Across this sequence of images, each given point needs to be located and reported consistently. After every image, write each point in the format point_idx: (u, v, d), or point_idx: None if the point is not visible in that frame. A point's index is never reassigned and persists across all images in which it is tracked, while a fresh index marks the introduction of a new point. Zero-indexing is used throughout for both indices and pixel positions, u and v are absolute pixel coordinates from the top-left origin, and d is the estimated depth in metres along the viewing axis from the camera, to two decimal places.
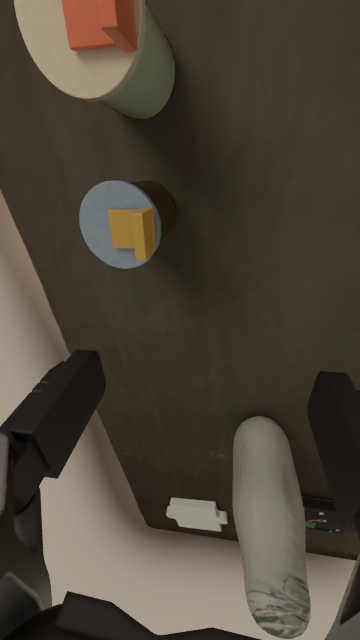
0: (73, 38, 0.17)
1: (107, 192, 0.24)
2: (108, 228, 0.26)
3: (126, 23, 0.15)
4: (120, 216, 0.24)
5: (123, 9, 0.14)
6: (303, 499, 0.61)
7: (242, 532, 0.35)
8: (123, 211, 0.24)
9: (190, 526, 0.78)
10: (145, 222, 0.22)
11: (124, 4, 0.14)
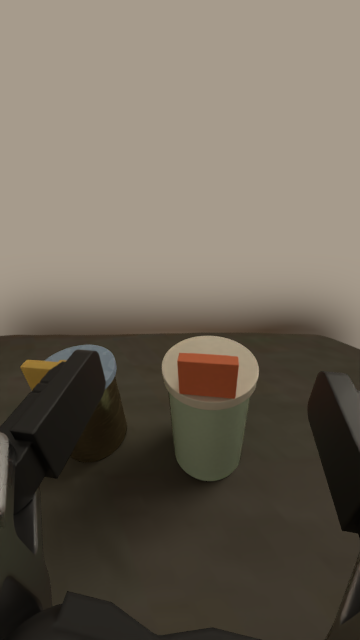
0: None
1: (105, 367, 0.27)
2: None
3: (186, 377, 0.19)
4: None
5: (192, 374, 0.19)
6: None
7: None
8: None
9: None
10: None
11: (195, 377, 0.19)
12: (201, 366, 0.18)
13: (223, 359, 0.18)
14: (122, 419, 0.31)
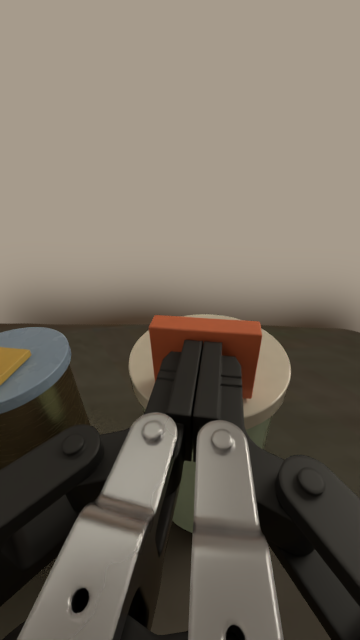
0: None
1: (51, 358, 0.18)
2: None
3: None
4: (9, 360, 0.17)
5: None
6: None
7: None
8: (11, 364, 0.16)
9: None
10: None
11: None
12: (192, 337, 0.10)
13: (232, 326, 0.10)
14: None
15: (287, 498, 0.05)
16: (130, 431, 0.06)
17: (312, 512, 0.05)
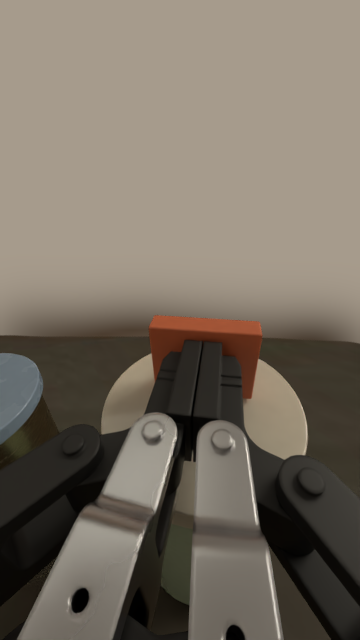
0: None
1: (16, 396, 0.15)
2: None
3: None
4: None
5: None
6: None
7: None
8: None
9: None
10: None
11: None
12: (192, 337, 0.10)
13: (232, 326, 0.10)
14: None
15: (287, 498, 0.05)
16: (130, 431, 0.06)
17: (312, 512, 0.05)
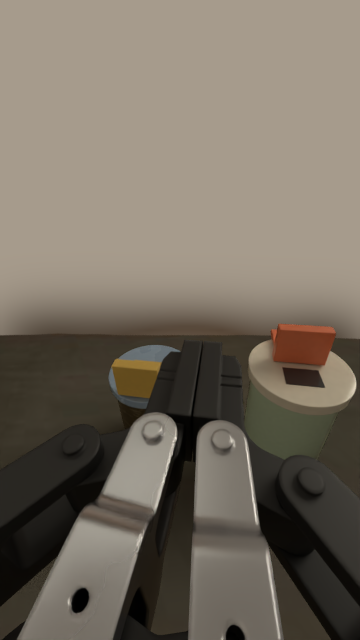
0: (276, 331, 0.26)
1: None
2: None
3: (284, 345, 0.22)
4: None
5: (290, 342, 0.22)
6: None
7: None
8: None
9: None
10: (148, 376, 0.21)
11: (293, 345, 0.22)
12: (301, 334, 0.21)
13: (320, 329, 0.21)
14: None
15: (287, 498, 0.05)
16: (130, 431, 0.06)
17: (312, 512, 0.05)
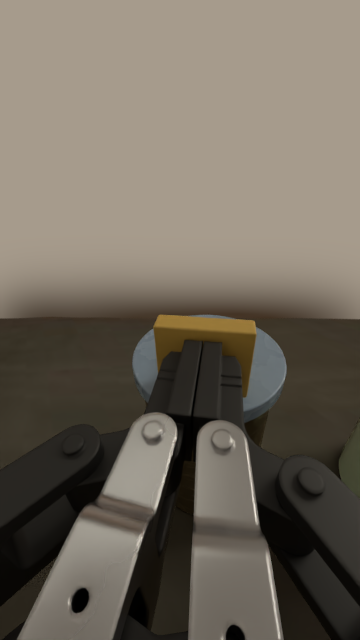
0: None
1: (265, 350, 0.14)
2: None
3: None
4: None
5: None
6: None
7: None
8: None
9: None
10: (232, 346, 0.10)
11: None
12: None
13: None
14: None
15: (287, 498, 0.05)
16: (130, 431, 0.06)
17: (312, 512, 0.05)
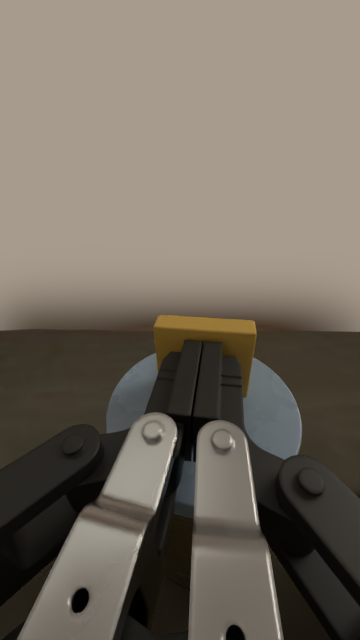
0: None
1: (274, 397, 0.11)
2: None
3: None
4: None
5: None
6: None
7: None
8: None
9: None
10: (232, 346, 0.10)
11: None
12: None
13: None
14: None
15: (287, 498, 0.05)
16: (130, 431, 0.06)
17: (312, 512, 0.05)
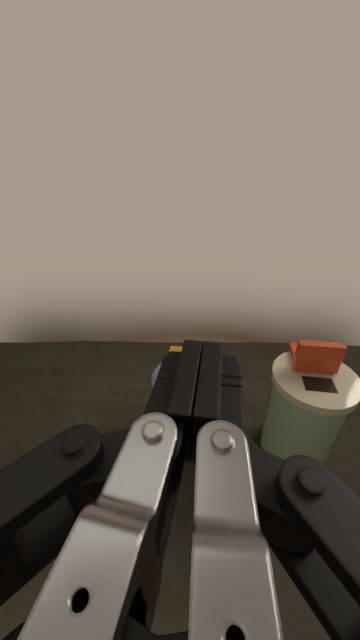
0: (293, 344, 0.31)
1: None
2: None
3: (303, 357, 0.27)
4: None
5: (308, 355, 0.26)
6: None
7: None
8: None
9: None
10: None
11: (311, 357, 0.26)
12: (318, 349, 0.26)
13: (333, 344, 0.26)
14: None
15: (287, 498, 0.05)
16: (130, 431, 0.06)
17: (312, 512, 0.05)
